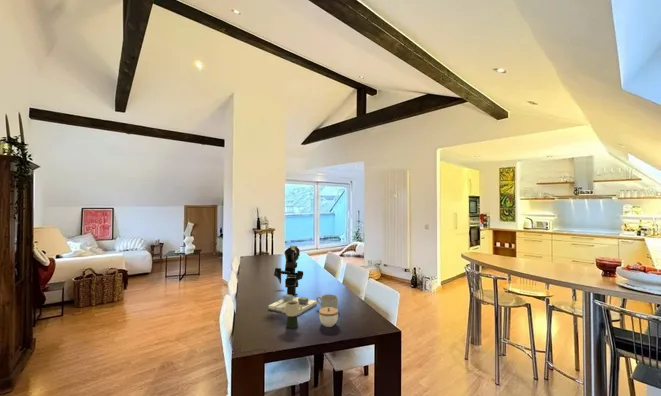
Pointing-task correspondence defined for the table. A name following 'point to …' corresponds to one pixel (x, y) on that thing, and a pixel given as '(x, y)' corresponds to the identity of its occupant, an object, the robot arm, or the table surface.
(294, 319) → the character mug
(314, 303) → the console
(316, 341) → the table surface
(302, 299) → the block
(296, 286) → the robot arm
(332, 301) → the teacup
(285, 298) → the block
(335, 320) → the lidded jar
